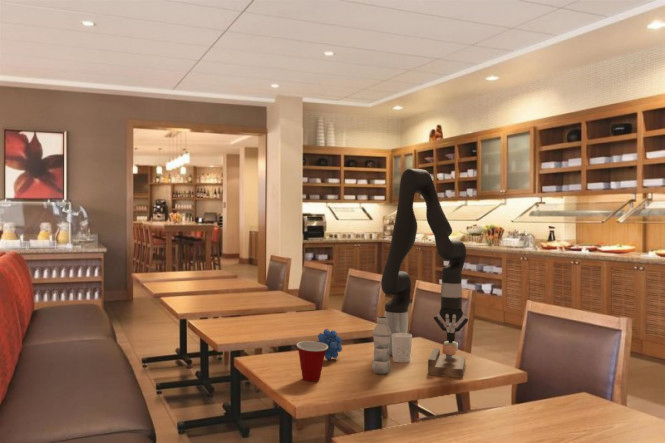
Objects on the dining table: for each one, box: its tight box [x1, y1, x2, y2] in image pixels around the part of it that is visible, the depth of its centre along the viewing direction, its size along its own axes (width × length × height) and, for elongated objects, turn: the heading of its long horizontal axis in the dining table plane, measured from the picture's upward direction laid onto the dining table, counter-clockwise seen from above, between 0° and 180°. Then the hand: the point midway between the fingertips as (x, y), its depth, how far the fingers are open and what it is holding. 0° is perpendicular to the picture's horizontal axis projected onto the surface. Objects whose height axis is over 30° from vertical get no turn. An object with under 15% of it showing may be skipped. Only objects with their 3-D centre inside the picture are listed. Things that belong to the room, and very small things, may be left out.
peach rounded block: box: [442, 344, 457, 359], centre depth 206 cm, size 5×5×4 cm
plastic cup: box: [296, 340, 328, 383], centre depth 197 cm, size 11×11×12 cm
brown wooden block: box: [427, 347, 466, 379], centre depth 212 cm, size 12×18×5 cm, turn 164°
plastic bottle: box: [371, 315, 391, 375], centre depth 205 cm, size 6×7×20 cm
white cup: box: [392, 332, 413, 364], centre depth 223 cm, size 8×8×10 cm
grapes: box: [316, 328, 343, 361], centre depth 222 cm, size 12×7×12 cm, turn 123°
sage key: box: [443, 340, 458, 351], centre depth 211 cm, size 5×5×4 cm
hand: (450, 342), depth 211 cm, fingers closed
